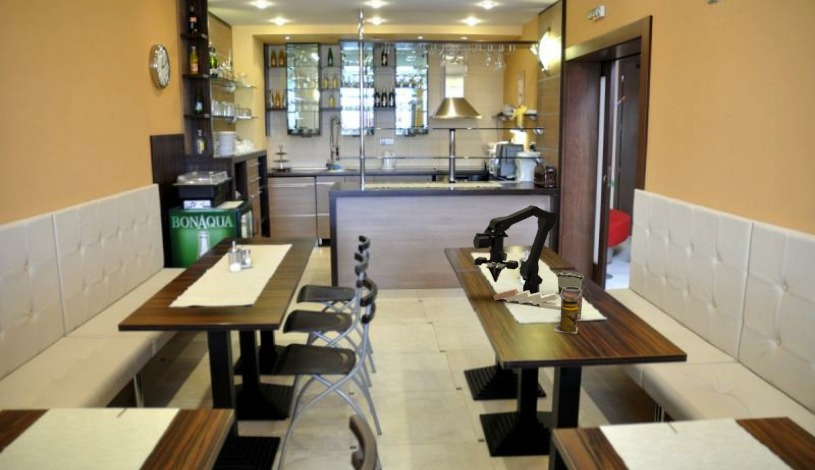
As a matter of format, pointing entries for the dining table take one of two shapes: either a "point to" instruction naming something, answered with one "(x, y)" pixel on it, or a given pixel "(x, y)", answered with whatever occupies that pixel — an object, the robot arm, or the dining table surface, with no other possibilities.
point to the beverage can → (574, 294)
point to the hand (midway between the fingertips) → (495, 281)
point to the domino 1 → (505, 294)
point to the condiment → (568, 317)
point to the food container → (569, 280)
